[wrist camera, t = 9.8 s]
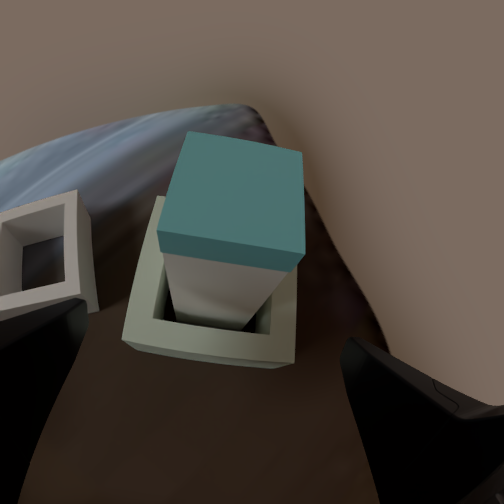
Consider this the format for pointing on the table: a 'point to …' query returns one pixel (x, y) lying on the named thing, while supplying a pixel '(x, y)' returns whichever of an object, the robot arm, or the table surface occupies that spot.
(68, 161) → the table surface
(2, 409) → the robot arm
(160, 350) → the socket block
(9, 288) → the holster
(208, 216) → the plug
